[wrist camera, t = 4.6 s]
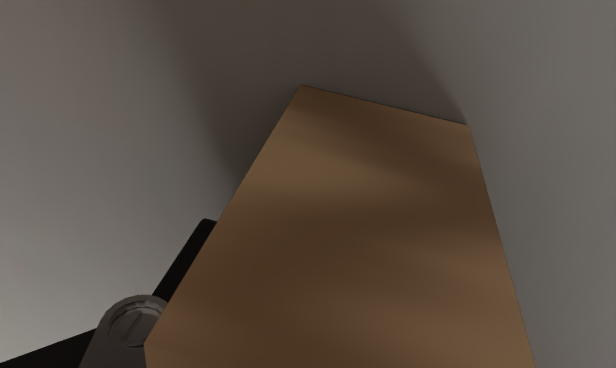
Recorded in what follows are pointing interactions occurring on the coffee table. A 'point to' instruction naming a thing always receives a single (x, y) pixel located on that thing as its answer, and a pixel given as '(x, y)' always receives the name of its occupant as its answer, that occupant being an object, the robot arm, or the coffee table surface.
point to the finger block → (350, 253)
